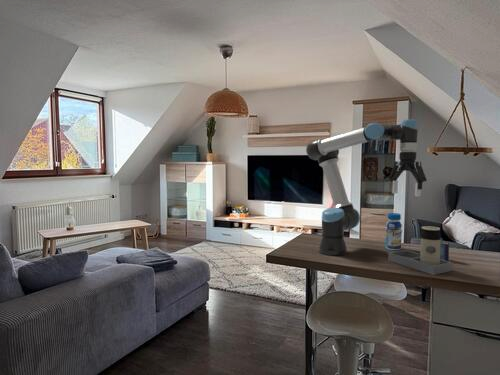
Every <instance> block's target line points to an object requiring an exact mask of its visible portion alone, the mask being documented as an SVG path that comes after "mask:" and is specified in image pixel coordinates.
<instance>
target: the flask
mask: <svg viewBox="0 0 500 375" xmlns="http://www.w3.org/2000/svg"><path fill="white" fill-rule="evenodd" d="M449 255H450V243H449V242H447V241H444V240H443V238H442V237H441V244H440V259H442V260H445V261H449V260H450V256H449ZM449 262H450V261H449Z"/></svg>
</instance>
